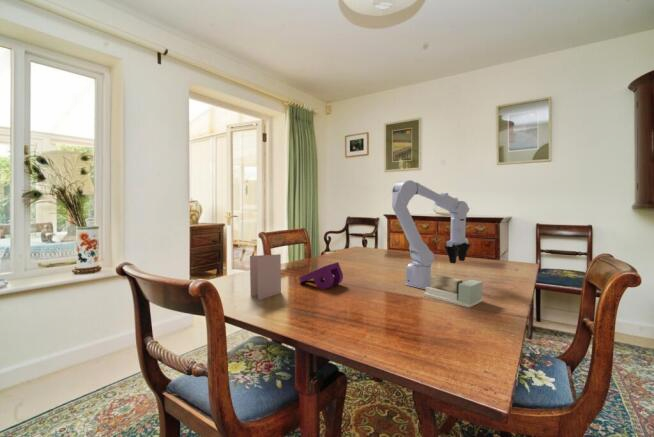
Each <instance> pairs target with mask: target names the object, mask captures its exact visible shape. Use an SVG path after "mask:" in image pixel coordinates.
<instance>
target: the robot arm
mask: <svg viewBox="0 0 654 437" xmlns="http://www.w3.org/2000/svg"><path fill="white" fill-rule="evenodd" d="M391 194H392V199H391V201H392V202H391V203H392V204H391V207H392V209H393V212H394V214H395V216H396V218H397V220H398V223H399V225H400V227H401V229H402V232H403V233H404V235H405V237H406V239H407V242H408V244H409V246H408V250H409V256H410V259H411V260H412V262H410V263H408V265H407V266H406V270H405V271H406V273H405V274H406V275H405V276H406V277H405V284H404V285H405V286H408V287H414V288H417V289H421V290H426V287H430V288H431V276H432V264H433V263H434V261H435V254H434V252H433V251H432V250H430V248H429V246H428V245H427V244H426V243H425V242H424V241H423V238H422V236H421V234H420V232H419V230H418V228H417V226H416V223H415V221H414V219H413V216H412V215H411V213H410V211H409V209H408V205H409V202H410V201H411V200H412V198H414V196H415V195H419V196H421V197H424V198H426V199H429V200H431V201H433V202H434V204H435V206H437V207H439V208H441V209H444V210H446V211H448V212H449V214H450V239H449V240H447V241H446V245H444V249H445V252H446V254H447V255H448V256H447V257H448V260H449V263H450V264H454V265H455V264H456V262H457V259H458V261H459V262H460V261H462V262H465V261H466V257H467V252H468V251H469V249H470V247H471V244H470V243H469V238H466V226H467V225H466V224H467V223H466V222H467V216H468V212H469V211H470V207H469V206H468V203H467V202H466V201H464V200H459V198H457V197H453V196H451V195H449V193H448V192H441V193H437V192H436V191H433V190H432V189H430V188H428V187H427V186H425V185H422V184H421V183H419V182H416V181H413V180H410V179H409V180H408V179H407V180H405V181H397V182H395V184H393V187H392V189H391ZM457 257H458V258H457Z"/></svg>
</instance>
